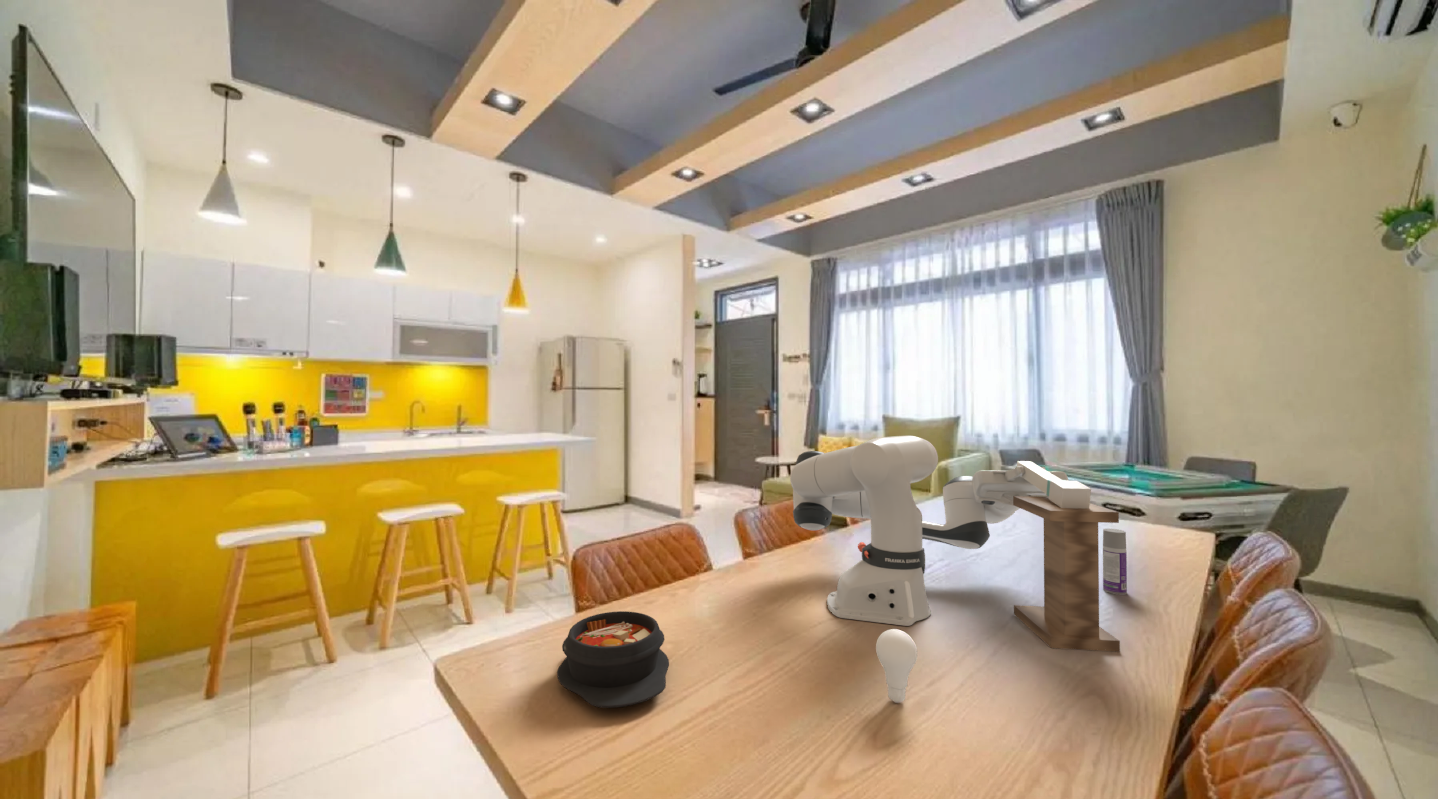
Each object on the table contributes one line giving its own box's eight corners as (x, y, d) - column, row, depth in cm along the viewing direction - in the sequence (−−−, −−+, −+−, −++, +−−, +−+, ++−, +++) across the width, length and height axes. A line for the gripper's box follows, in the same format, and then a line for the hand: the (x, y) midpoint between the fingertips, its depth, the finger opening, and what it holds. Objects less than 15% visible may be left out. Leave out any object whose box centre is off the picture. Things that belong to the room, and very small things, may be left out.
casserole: (548, 656, 96) (548, 610, 96) (645, 637, 104) (645, 595, 104) (569, 733, 73) (569, 673, 73) (692, 702, 81) (692, 648, 81)
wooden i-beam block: (1051, 648, 99) (1050, 510, 99) (1014, 614, 115) (1013, 496, 115) (1119, 651, 97) (1118, 512, 98) (1072, 616, 113) (1071, 497, 114)
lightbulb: (919, 696, 82) (918, 626, 83) (916, 717, 77) (915, 642, 77) (879, 687, 85) (878, 619, 85) (873, 707, 79) (873, 634, 80)
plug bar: (1061, 508, 102) (1063, 488, 101) (1011, 473, 124) (1013, 457, 123) (1089, 508, 101) (1091, 488, 100) (1034, 473, 123) (1035, 457, 122)
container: (1118, 588, 131) (1118, 528, 131) (1131, 595, 126) (1130, 533, 126) (1098, 587, 131) (1098, 528, 132) (1110, 594, 127) (1110, 532, 127)
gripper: (1057, 504, 128) (1085, 483, 116) (969, 502, 130) (988, 481, 119) (1050, 480, 131) (1076, 457, 119) (965, 478, 134) (982, 456, 122)
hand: (1031, 469), depth 119 cm, fingers closed on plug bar, 3 cm apart
